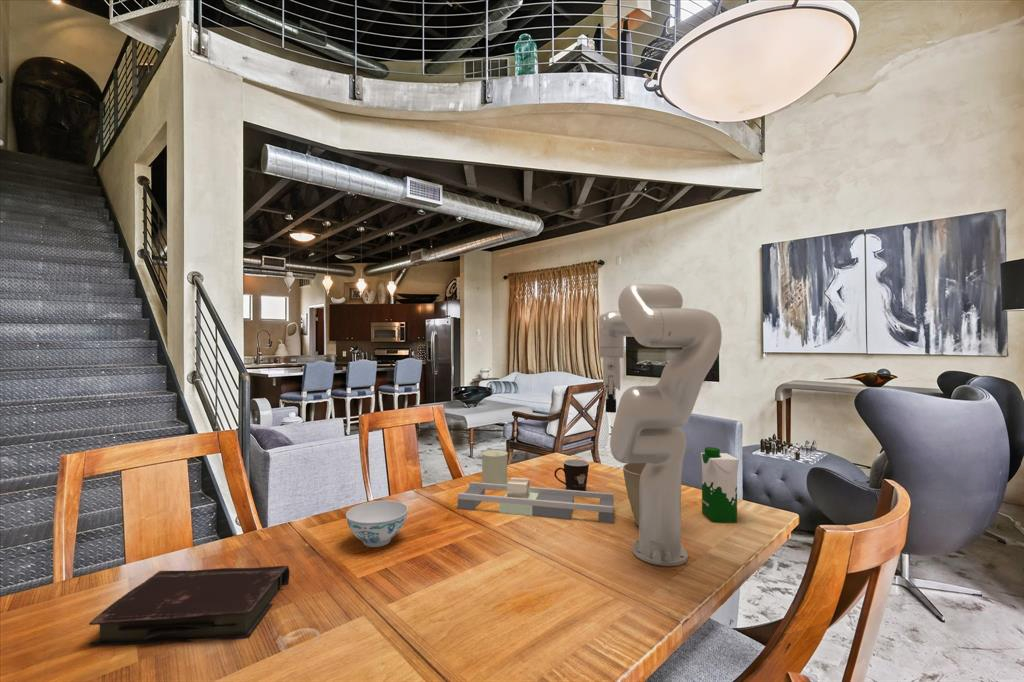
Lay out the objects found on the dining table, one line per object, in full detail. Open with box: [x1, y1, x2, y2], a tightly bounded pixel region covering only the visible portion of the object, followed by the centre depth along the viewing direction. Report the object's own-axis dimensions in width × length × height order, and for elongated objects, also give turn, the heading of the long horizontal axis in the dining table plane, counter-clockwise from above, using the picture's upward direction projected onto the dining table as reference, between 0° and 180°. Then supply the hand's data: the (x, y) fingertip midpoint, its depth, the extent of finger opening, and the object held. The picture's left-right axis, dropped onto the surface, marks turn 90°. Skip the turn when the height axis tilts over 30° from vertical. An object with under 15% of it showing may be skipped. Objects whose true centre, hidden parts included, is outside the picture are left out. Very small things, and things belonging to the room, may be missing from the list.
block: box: [506, 477, 531, 499], centre depth 138 cm, size 6×6×5 cm
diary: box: [88, 565, 290, 648], centre depth 84 cm, size 19×25×5 cm
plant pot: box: [622, 463, 647, 527], centre depth 125 cm, size 15×15×16 cm
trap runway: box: [457, 481, 615, 524], centre depth 137 cm, size 12×46×4 cm, turn 77°
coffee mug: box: [554, 458, 590, 491], centre depth 153 cm, size 12×9×10 cm
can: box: [481, 449, 509, 491], centre depth 159 cm, size 9×9×12 cm
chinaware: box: [345, 499, 409, 548], centre depth 114 cm, size 15×15×8 cm
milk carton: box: [700, 446, 740, 523], centre depth 131 cm, size 9×9×20 cm
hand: (610, 412), depth 140 cm, fingers closed
